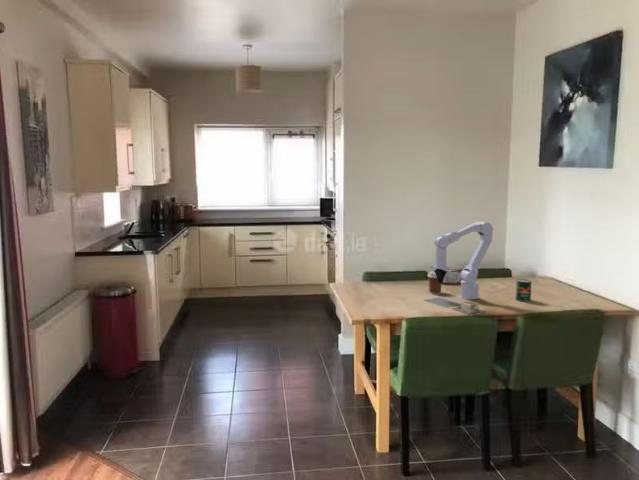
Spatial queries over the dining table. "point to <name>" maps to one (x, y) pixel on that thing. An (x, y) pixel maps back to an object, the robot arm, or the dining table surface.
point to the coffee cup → (434, 283)
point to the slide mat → (451, 305)
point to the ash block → (469, 307)
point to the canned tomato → (523, 290)
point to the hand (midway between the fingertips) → (440, 282)
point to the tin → (452, 277)
